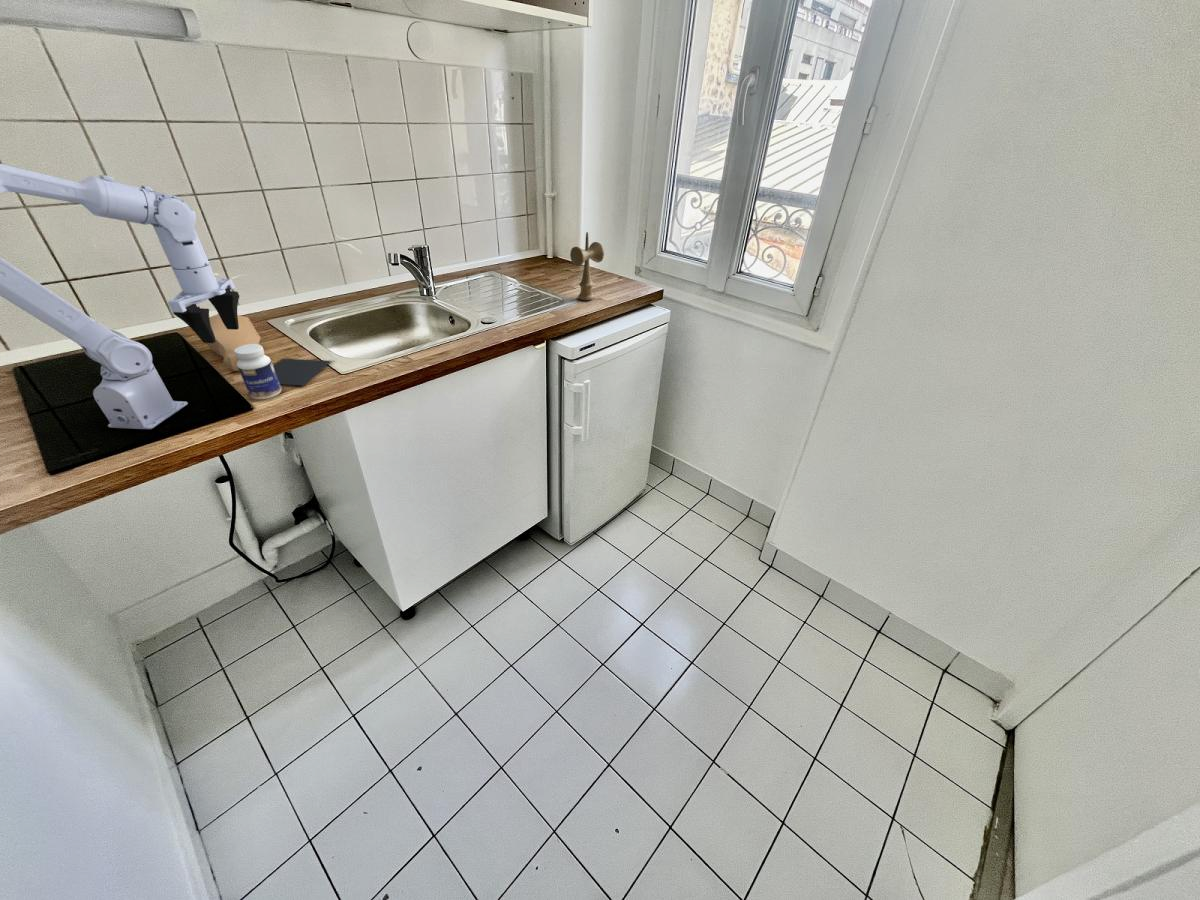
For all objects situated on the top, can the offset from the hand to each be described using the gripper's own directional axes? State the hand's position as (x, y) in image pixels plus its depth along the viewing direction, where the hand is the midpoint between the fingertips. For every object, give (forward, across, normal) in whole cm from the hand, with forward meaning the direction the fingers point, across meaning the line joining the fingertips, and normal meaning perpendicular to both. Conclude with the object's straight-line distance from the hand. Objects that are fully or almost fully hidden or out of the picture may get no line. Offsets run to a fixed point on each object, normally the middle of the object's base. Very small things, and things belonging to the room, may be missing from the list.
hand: (221, 335), depth 97 cm
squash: (+11, +12, +8) cm, 18 cm away
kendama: (+11, +64, -70) cm, 95 cm away
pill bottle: (+11, -4, -8) cm, 14 cm away
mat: (+10, +5, -8) cm, 14 cm away
